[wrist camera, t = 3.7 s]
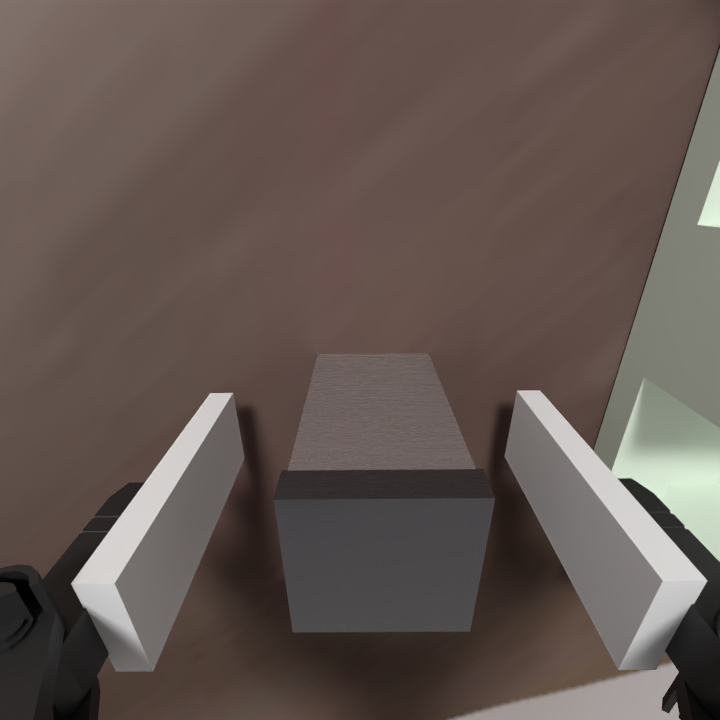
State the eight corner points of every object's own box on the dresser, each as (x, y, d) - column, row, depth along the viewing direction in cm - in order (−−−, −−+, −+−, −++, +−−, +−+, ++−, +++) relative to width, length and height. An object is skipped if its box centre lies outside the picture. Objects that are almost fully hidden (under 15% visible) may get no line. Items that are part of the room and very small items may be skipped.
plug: (321, 446, 15) (292, 632, 9) (314, 351, 13) (273, 499, 7) (424, 445, 15) (469, 631, 9) (431, 350, 13) (494, 498, 7)
